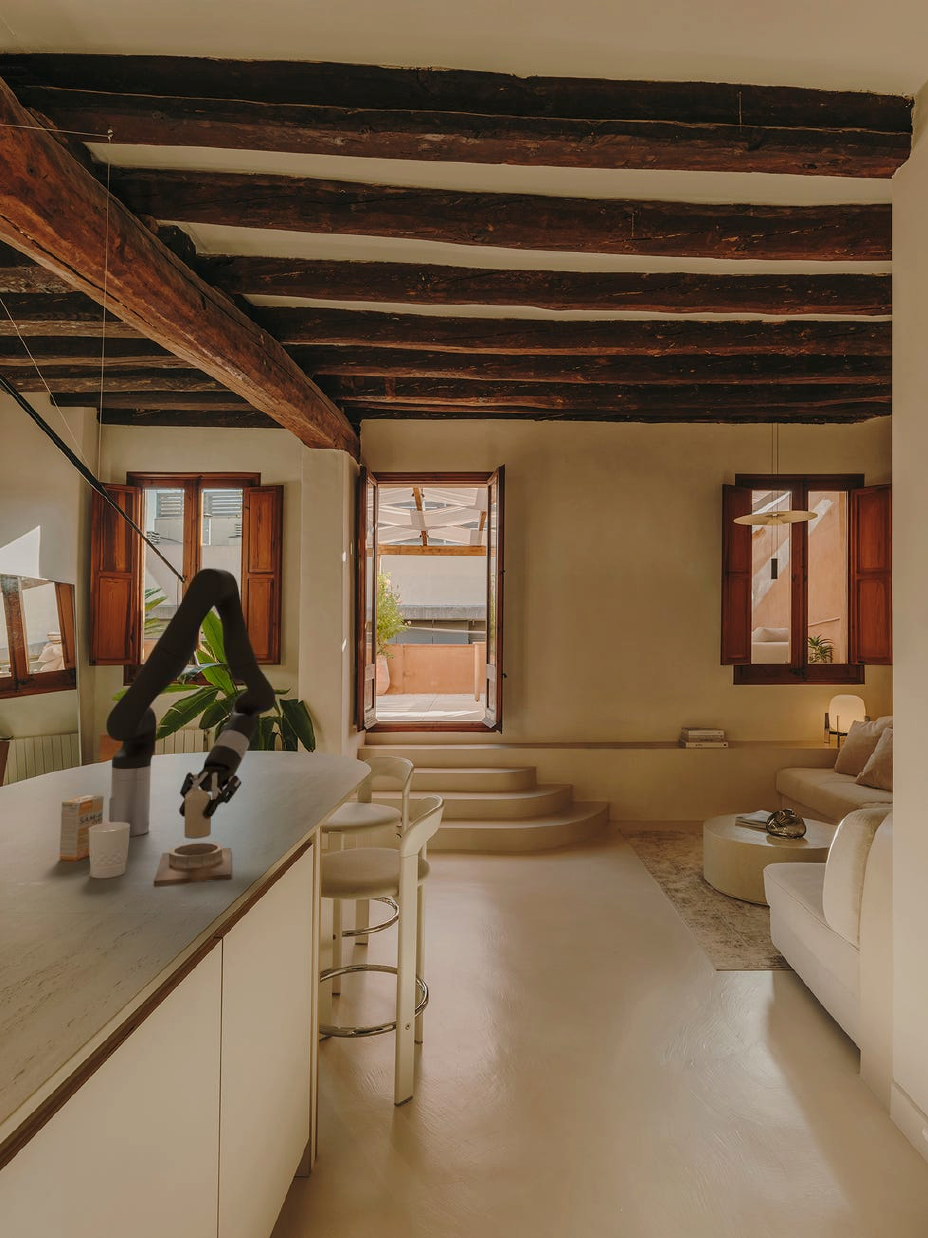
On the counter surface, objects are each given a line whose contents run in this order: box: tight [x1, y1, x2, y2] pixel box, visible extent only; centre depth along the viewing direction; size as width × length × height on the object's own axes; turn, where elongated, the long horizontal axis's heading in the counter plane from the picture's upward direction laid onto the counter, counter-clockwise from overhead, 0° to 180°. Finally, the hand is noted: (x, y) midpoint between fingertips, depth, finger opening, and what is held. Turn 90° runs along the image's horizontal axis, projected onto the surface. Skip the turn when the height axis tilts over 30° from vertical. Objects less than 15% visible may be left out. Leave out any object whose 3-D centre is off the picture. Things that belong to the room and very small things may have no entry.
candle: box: [184, 788, 212, 840], centre depth 156 cm, size 6×6×10 cm
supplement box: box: [59, 794, 104, 862], centre depth 162 cm, size 8×5×13 cm, turn 168°
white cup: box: [88, 821, 130, 879], centre depth 150 cm, size 8×8×10 cm
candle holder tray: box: [153, 841, 232, 887], centre depth 154 cm, size 15×20×4 cm
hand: (194, 815), depth 155 cm, fingers closed on candle, 5 cm apart
